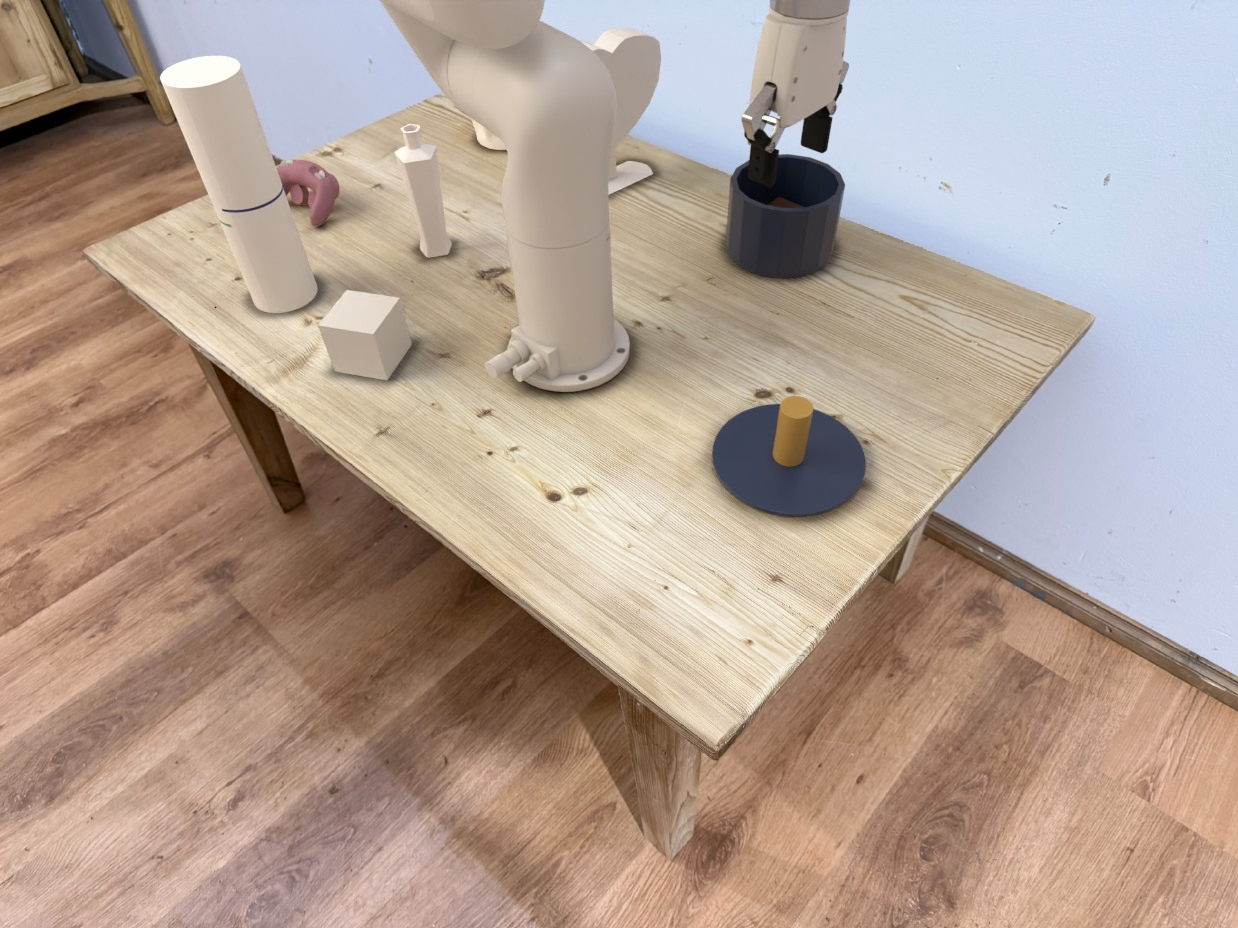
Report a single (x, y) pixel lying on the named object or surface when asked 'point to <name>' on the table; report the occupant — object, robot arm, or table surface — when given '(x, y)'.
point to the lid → (789, 459)
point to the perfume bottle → (424, 191)
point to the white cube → (366, 334)
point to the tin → (784, 218)
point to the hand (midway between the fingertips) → (787, 165)
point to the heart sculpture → (628, 91)
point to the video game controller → (314, 177)
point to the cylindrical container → (241, 179)
